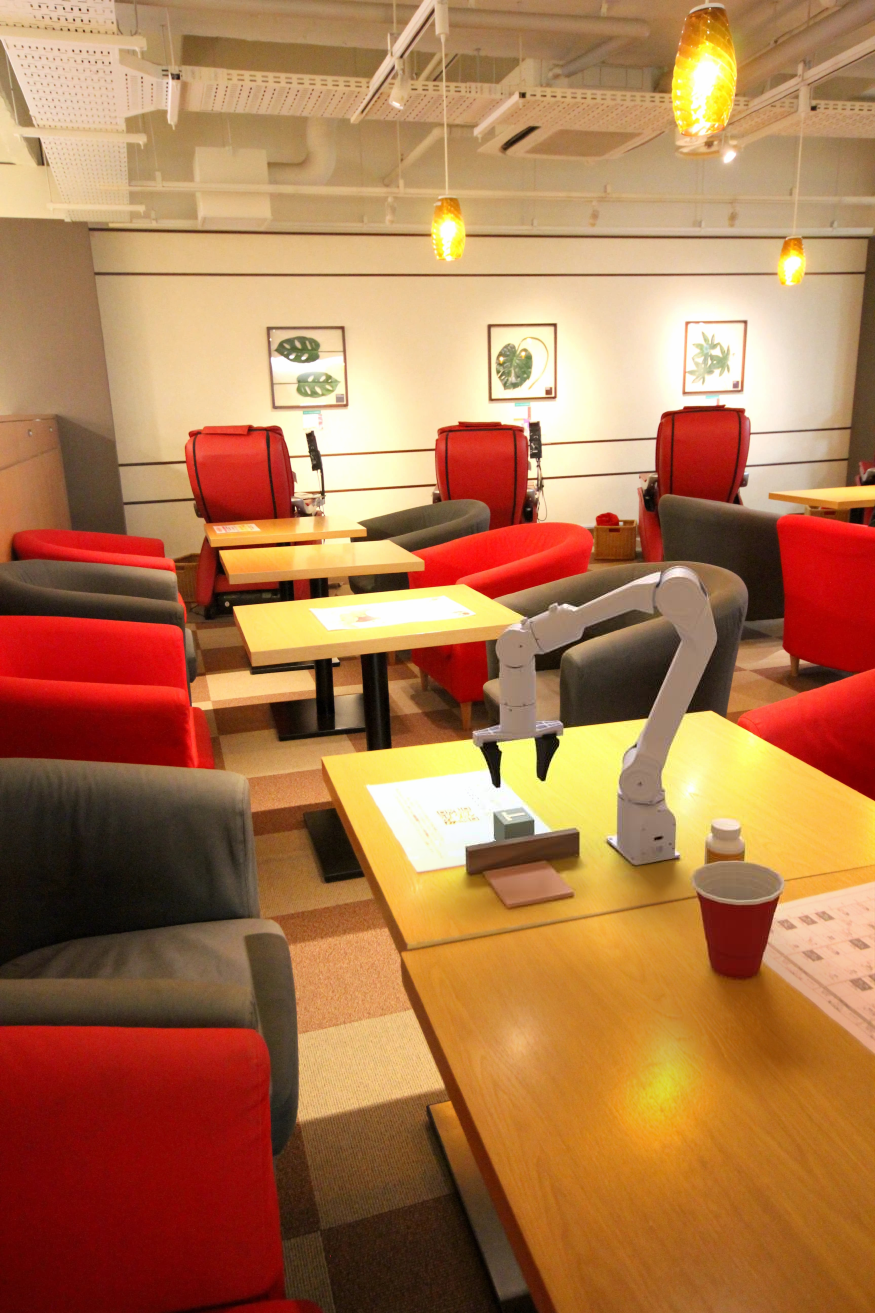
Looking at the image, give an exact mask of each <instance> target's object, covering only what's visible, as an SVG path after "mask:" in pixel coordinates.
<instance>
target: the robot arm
mask: <svg viewBox="0 0 875 1313" xmlns="http://www.w3.org/2000/svg"><path fill="white" fill-rule="evenodd" d="M661 573H662V572H661V571H658V572H655V573H654V572H653V573H651V574H648V575H645V576H644V577H641V578H638V579H635V580H634V581H631V582H629V583H627V584H625V585H623V586H621V587H618V588H616V589H614V590H612V591H609V592H608V593H607V592H606V594H604V595H602V596H599V597H597V598H595V599H593V600H590V601H588V602H586V603H584V604H581V605H580V606H578V607H577V606H574V605H571V604H569V603H563V604H560V605H559V604H558V602H555V603H553V604H551V605H549V607H548V610H547V611H545V612H542V613H540V614H538V615H535V616H533V617H531V618H529V617H528V616H525V617H522V618H521V619H520V622H515V623H513V624H510V625H509V626H508V627H506V628H505V629H504V631H503V632H502V633H501V634H500V635H499V637H498V639H497V640H496V644H495V653H496V656H497V658H498V660H499V674H498V677H499V678H498V685H499V688H498V690H499V724H498V725H494V726H491V727H487V728H484V729H481V730H475V731H472V744H473V745H474V746H476V748H479V750H480V752H481V753H482V755H483V758H484V760H485V762H486V765H487V768H488V770H489V774H490V779H491V784H492V785H493V786H494V788H495V789H500V788H501V784H502V779H501V778H502V777H501V776H502V775H501V763H502V755H503V751H502V750H501V749H500V747H499V744H498V743H505V742H511V741H512V742H513V741H520V740H527V739H534V745H535V755H536V759H535V760H536V764H535V765H536V766H535V769H536V770H535V772H536V778H538V779H539V781H541V782H546V780H547V775H548V770H549V768H550V764H551V763H552V761H553V760H552V759H553V758H554V755H555V753H556V752H557V750H558V749H559V747H560V743H561V742H560V741H561V740H560V739H559V737H561V736H562V737H563V736H564V724H563V723H562V722H561V721H560V720H548V721H546V720H544V721H542V720H541V721H539V720H538V721H537V672H536V657H535V655H544V654H546V653H549V652H551V651H553V650H556V649H559V648H560V647H564V646H566V645H567V644H568V645H569V644H570V643H572V642H575V641H578V640H580V639H581V638H582V636H583V634H584V630H585V628H587V627H590V626H592V625H595V624H598V623H601V622H603V621H606V620H609V619H611V618H614V617H618V616H619V615H622V614H625V613H627V612H630V611H633V610H636V611H640V612H644V613H647V614H651V615H653V614H654V613H655V607H657V609H658V611H659V612H660V613H661V614H662V615H663V617H664V618H666V619H667V620H668V621H669V622H670V623H671V624H673V626H674V628H675V630H676V632H677V634H678V635H679V638H680V643H679V645H678V647H677V649H676V652H675V654H674V657H673V658H672V661H671V663H670V665H669V666H670V667H669V668H668V671H667V673H666V675H665V678H664V680H663V682H662V685H661V687H660V689H659V692H658V694H657V697H656V699H655V701H654V703H653V706H652V708H651V710H650V712H649V715H648V718H647V720H646V722H645V723H644V727H643V729H642V730H641V731H640V733H639V735H638V736H637V739H636V741H635V742H634V743H633V745H631V746H630V747H629V748H628V749H627V750H626V751H625V752H624V753H623V756H622V762H621V763H622V766H621V773H620V774H619V778H618V787H617V799H616V802H617V804H616V834H615V835H608V836H606V837H605V841H607V842H608V843H609V844H610V845H611V846H612V847H613V848H614V849H616V851H618V852H619V853H620V854H621V855H622V856H623V857H624V858H625V859H626V860H627V861H629V862H630V863H631V864H632V865H633V866H639V865H645V864H650V863H654V862H660V861H666V860H672V859H676V858H680V857H681V853H680V852H679V851H677V850H676V840H677V839H676V837H677V835H676V831H677V821H676V817H675V815H674V813H673V812H672V810H670V808H669V807H668V804H667V802H666V790H665V788H663V778H662V776H663V771H664V768H665V765H666V761H667V759H668V756H669V752H670V749H671V746H672V744H673V741H674V739H675V737H676V735H677V732H678V730H679V728H680V726H681V723H682V721H683V720H684V719H683V718H684V717H685V714H686V712H687V710H688V707H689V705H690V704H691V701H692V700H693V699H692V698H693V697H694V694H695V693H696V690H697V687H698V685H699V683H700V681H701V679H702V676H703V674H704V672H705V670H706V667H707V664H708V663H709V661H710V658H711V657H712V654H713V651H714V650H715V647H716V646H717V642H718V641H717V640H718V634H717V629H716V624H715V620H714V615H713V612H712V607H711V603H710V597H709V593H708V590H707V588H706V586H705V585H704V582H703V581H702V580H701V578H700V577H699V575H698V574H697V573H696V572H695V571H694V570H693V569H691V568H689V567H687V566H685V565H683V566H682V565H676V566H672V567H669V568H668V569H666V570H665V571H664V572H663V573H662V574H661Z"/></svg>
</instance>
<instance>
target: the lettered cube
mask: <svg viewBox="0 0 875 1313" xmlns="http://www.w3.org/2000/svg"><path fill="white" fill-rule="evenodd" d="M492 813H493V840H494V839H495V840H496V841H500V840H506V839H512V838H518V837H524V836H530V835H536V834H535V818H534V817H533V816H531V814H530V813H528V811H527V810H526V809H525V808H524V807H516V808H515V807H514V808H509V809H504V810H503V809H502V810H496V811H493V812H492Z"/></svg>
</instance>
